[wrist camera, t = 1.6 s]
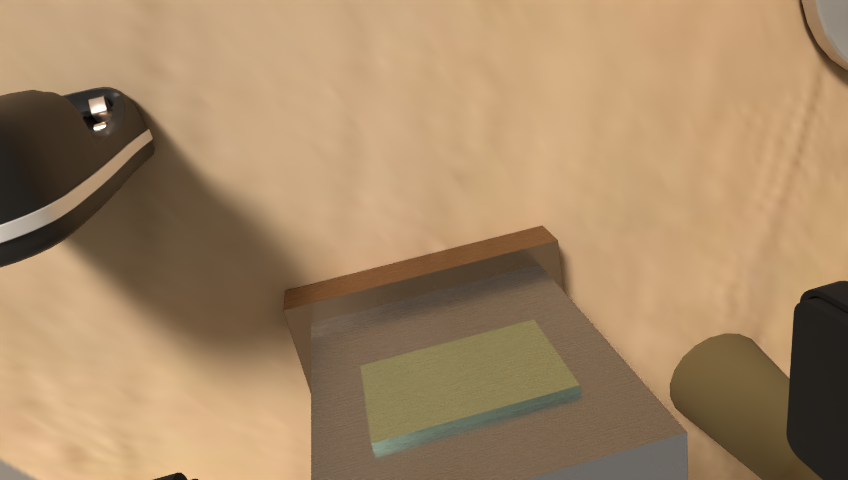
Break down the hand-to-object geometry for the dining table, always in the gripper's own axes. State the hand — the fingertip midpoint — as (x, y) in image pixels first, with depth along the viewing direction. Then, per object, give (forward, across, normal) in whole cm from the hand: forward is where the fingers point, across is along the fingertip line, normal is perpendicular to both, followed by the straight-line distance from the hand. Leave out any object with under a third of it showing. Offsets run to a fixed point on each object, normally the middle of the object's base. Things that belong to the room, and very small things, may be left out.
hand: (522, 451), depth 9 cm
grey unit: (+20, -1, +9) cm, 21 cm away
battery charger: (+20, +12, -4) cm, 24 cm away
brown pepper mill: (+19, -17, +18) cm, 31 cm away
